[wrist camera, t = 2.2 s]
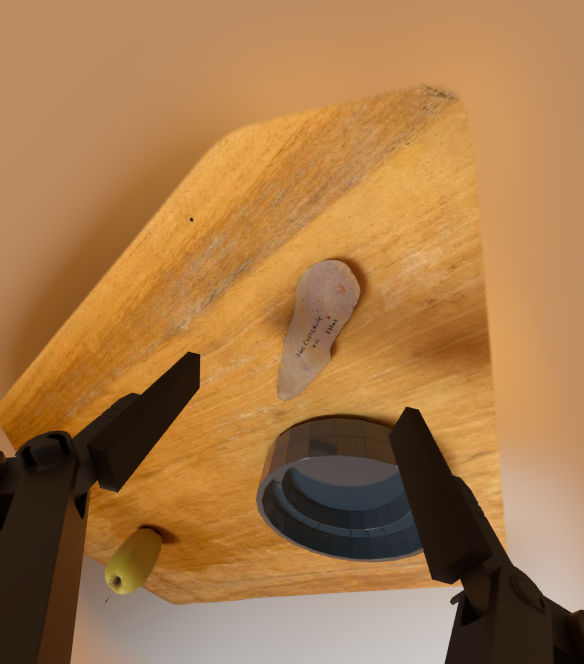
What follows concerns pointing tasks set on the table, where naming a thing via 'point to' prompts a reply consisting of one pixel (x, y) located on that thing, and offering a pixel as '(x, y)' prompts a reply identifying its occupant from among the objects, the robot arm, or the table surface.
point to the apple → (133, 561)
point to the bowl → (338, 492)
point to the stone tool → (315, 323)
